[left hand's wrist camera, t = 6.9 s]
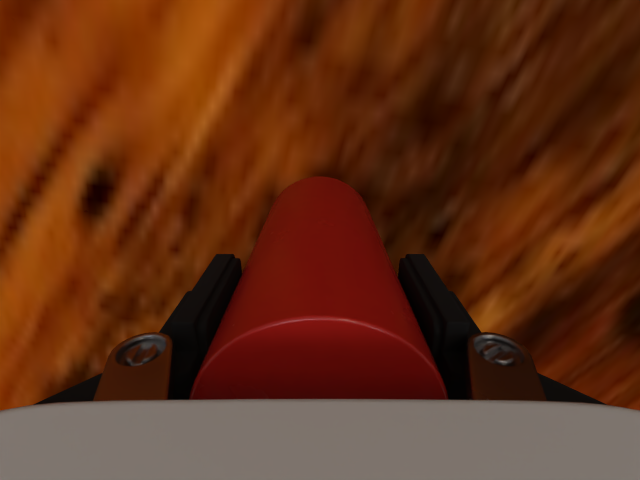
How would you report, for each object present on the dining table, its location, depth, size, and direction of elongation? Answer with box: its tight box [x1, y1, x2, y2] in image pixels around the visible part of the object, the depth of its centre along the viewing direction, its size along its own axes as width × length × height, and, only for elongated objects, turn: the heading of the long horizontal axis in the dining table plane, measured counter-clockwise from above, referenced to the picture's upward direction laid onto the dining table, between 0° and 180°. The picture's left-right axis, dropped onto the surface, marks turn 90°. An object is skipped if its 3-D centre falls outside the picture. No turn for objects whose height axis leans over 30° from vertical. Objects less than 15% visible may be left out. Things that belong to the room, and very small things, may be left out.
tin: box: [189, 177, 449, 400], centre depth 13 cm, size 5×5×12 cm
